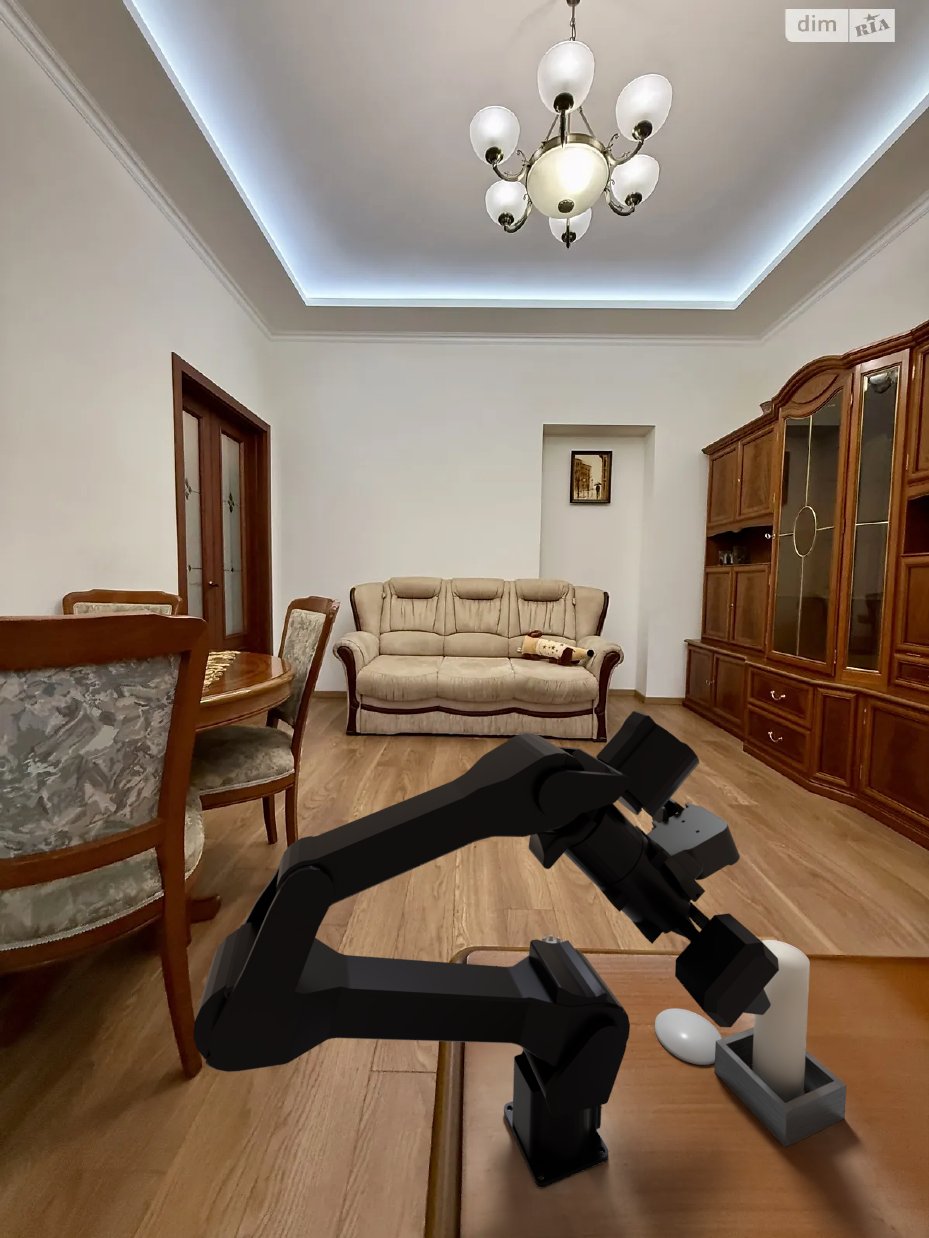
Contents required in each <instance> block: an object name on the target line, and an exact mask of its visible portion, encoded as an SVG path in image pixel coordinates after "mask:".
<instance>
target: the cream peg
mask: <svg viewBox="0 0 929 1238" xmlns="http://www.w3.org/2000/svg"><path fill="white" fill-rule="evenodd" d="M761 941H762V942H763V943H764V944H765V945H766V946H767V947H768V948H769V950H770V951H771V952H772V953H773V954H774V955H775V956H776V957H777V958H778V965H779V971H778V972H777V973H776V974H775V975H774V977H773V978H772V979H771V980H770V981H769V983H768V984H767V985H766V986H765V987H764V990H765V992H766V995H767V997H768V999H769V1001H770V1003H771V1006H770V1008H769V1009H768V1010H767V1011H766V1012H765V1014H763V1015H757V1014H753V1015H754V1017H753V1018H754V1019H753V1027H754V1037H753V1059H752V1064H751V1070H752V1071H753V1072H754V1073H755V1074H756V1075H757V1076H758V1077H759V1078H760V1079H761V1080H762V1081H763V1082H764V1083H765V1084H766V1085H767V1086H768V1087H769V1088H770V1089H771V1090H772V1091H773V1092H774V1093H775V1094H776V1095H777V1096H778V1097H779V1098H780V1099H781V1100H782V1101H783V1102H784V1103H786V1102H789V1101H791V1100H793V1099H795V1098H798V1097H800V1096H802V1095H804V1093H805V1091H804V1090H805V1088H804V1074H805V1053H806V1051H807V1049H806V1048H807V1029H808V1008H809V1007H808V1005H809V988H810V964H811V963H810V960H809V958H808V957H807V955H806V954H805V953H804V952H803V951H801V950H800V949H799V948H797V947H795V946H793V945H791V944H789V943H786V942H784V941H780V940H775V939H763V940H761Z"/></svg>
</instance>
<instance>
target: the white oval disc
mask: <svg viewBox="0 0 929 1238" xmlns="http://www.w3.org/2000/svg"><path fill="white" fill-rule="evenodd" d="M654 1023H655V1024H654V1030H655V1033H656V1034H655V1035H656V1037H657V1040H658V1041H659V1042H660V1044H661V1045H662V1046H663V1047H664V1048H665V1049H666V1050H667V1051H668V1052H669V1054H671V1055H673V1056H675V1057H677V1058H678V1059H679V1060H682V1061H684V1062H687V1063H689V1064H693V1065H697V1066H698V1065H699V1066H709V1065H713V1064H715V1044H716V1041H717V1040H720V1039H722V1038H723V1037H722V1035H721V1034H720V1031H718V1029H717V1028H716V1027H715V1026H714V1024H712V1022H710V1021H709V1020H707V1018H705V1017H703V1016H701V1015H699V1013H695V1012H694V1011H691V1010H688V1009H683V1008H667V1009H664V1010H662V1011H661V1012H660V1013H658V1015H656V1018H655V1021H654Z"/></svg>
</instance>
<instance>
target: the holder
mask: <svg viewBox="0 0 929 1238" xmlns="http://www.w3.org/2000/svg"><path fill="white" fill-rule="evenodd" d="M753 1037H754V1026H752V1027H750V1028H748V1029H746V1030H742V1031H739V1032H737V1033H734V1034H731V1035H728V1036H726V1037H722V1039H720V1040H717V1041H716V1044H715V1063H714V1068H713V1069H714V1071H713V1072H714V1073H715V1074H716V1075H717V1076H718V1077H719V1078H720V1079H721V1081H722V1082H723V1083H724V1084H725V1085H726V1086H727V1087H728V1088H729V1089H730V1090H731V1091H732V1093H734V1095H735V1096H736V1097H737V1098H738V1099H739V1100H740V1101H741V1102H742V1103H743V1104H744V1105H745V1107H746V1108H747V1109H748V1110H750V1112H751V1113H752V1114H753V1115H754V1116H755V1117H756V1118H757V1119H758V1120H759V1122H761V1124H762V1125H763V1126H764V1127H766V1129H767V1130H768V1131H769V1133H771V1134H772V1136H773V1137H775V1139H776V1140H778V1142H779V1143H780V1144H781V1145H782V1146H783V1147H784V1148H787V1147H788V1146H790V1145H793V1144H796V1143H797V1142H799V1141H802V1140H804V1139H805V1138H807V1137H809V1136H812V1135H813V1134H815V1133H817V1132H820V1131H821V1130H824V1129H826V1128H828V1127H830V1126H832V1125H834V1124H837V1123H838V1122H840V1121H842V1120H845V1118H846V1104H847V1103H846V1101H847V1100H846V1099H847V1084H846V1083H845V1082H843V1080H842V1079H840V1078H839V1076H837V1075H835V1074H834V1073H833V1072H832V1071H831V1070H830V1069H828V1068H827V1067H826V1066H825V1065H824V1064H823V1063H821V1062H820V1061H819V1060H818V1059H817V1058H816V1057H815V1056H814V1055H812V1054H811V1053H810V1052H808V1051H807V1050H806V1053H805V1074H804V1090H806V1091H807V1093H805V1094H803V1095H802V1096H800V1097H798V1098H795V1099H793V1100H791V1101H789V1102H786V1103H784V1102H783V1101H782V1100H781V1099H780V1098H779V1097H778V1096H777V1095H776V1094H775V1093H774V1092H773V1091H772V1090H771V1089H770V1088H769V1087H768V1086H767V1085H766V1084H765V1083H764V1082H763V1081H762V1080H761V1079H760V1078H759V1077H758V1076H757V1075H756V1074H755V1073H754V1072H753V1071H752V1068H750V1066H752V1059H753Z"/></svg>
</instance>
